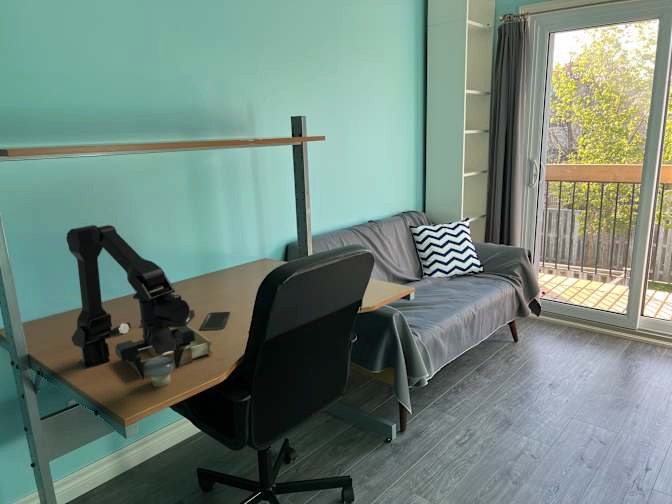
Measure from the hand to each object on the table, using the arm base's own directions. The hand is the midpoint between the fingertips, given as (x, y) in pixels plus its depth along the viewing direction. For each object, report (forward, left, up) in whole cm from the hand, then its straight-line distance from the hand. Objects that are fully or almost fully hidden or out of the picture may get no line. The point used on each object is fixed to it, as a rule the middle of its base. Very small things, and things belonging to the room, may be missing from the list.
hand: (160, 373), depth 129 cm
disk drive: (+18, +43, -3) cm, 47 cm away
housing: (+4, +14, -3) cm, 15 cm away
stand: (0, 0, -3) cm, 3 cm away
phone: (+30, +31, -3) cm, 43 cm away
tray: (+11, +14, -2) cm, 18 cm away
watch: (+2, +44, -3) cm, 44 cm away
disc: (0, 0, +1) cm, 1 cm away
